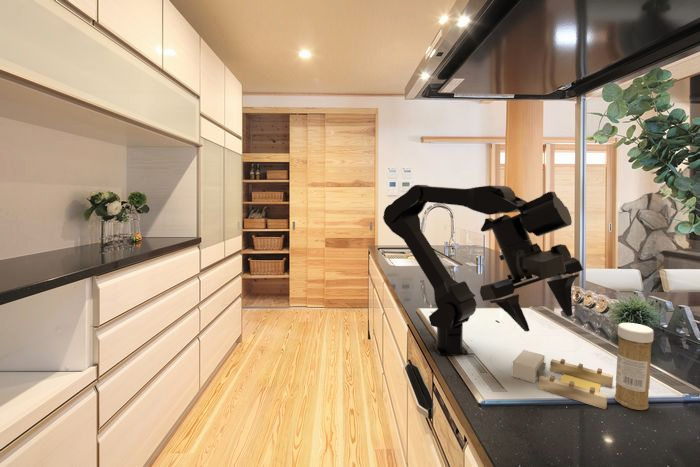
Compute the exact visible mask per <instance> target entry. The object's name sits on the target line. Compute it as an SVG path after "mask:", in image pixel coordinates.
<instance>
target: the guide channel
mask: <svg viewBox="0 0 700 467" xmlns="http://www.w3.org/2000/svg"><path fill="white" fill-rule="evenodd" d="M549 364H550V366H549V368H550V369H549V370H550V372H554V373H557V374H561V375H564V374H566V375H569V376H573V377H576V378H580V379H583V380H587V381H590V382H594V383H598V384H601V386H603V387H606V386H607V387H606V388H611V389H612V388H613V386H614V384H613V381H614V375H613V374H610V373H607V372H604V371H603V369H602V368H597V370H595V369H591V368H587V367H584V364H583V363H580V362H579V364H578V365H575V364H573V363H569V362H566V359H564V358H561V359H560V360H558V359H557V360H556V359H553V358H552V359H551V360H550V363H549ZM555 378H556V377H555V375H550V377H547V376H544V375H541V376H540V377H538V389H539V388H540V389H541V390H543V391H546V392H549V393H553V394H555V395H558V396H562V397H565V398H568V399H571V400H575V401H577V402H581V403H584V404H587V405H589V406H594V407H596V408H600V409H602V410H607V406H608V405H607V404H608V394H605V393H601V392H600V391H599V392H595V388H593V387H591V388H590V390H589V389H585V388H582V387H578V386H575V385H574V382H573V381H570V383H569V384H568V383H565V382H561V381H560V380H558V379H555Z"/></svg>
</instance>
